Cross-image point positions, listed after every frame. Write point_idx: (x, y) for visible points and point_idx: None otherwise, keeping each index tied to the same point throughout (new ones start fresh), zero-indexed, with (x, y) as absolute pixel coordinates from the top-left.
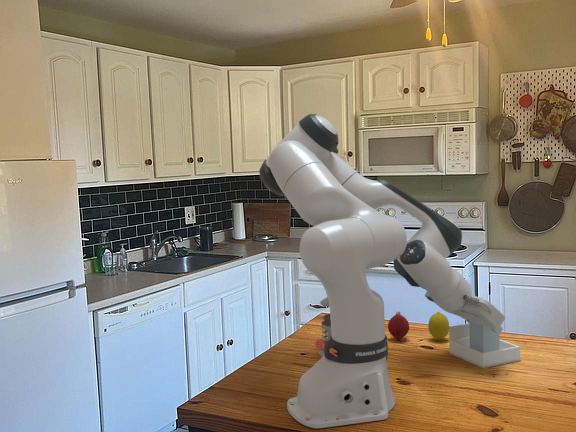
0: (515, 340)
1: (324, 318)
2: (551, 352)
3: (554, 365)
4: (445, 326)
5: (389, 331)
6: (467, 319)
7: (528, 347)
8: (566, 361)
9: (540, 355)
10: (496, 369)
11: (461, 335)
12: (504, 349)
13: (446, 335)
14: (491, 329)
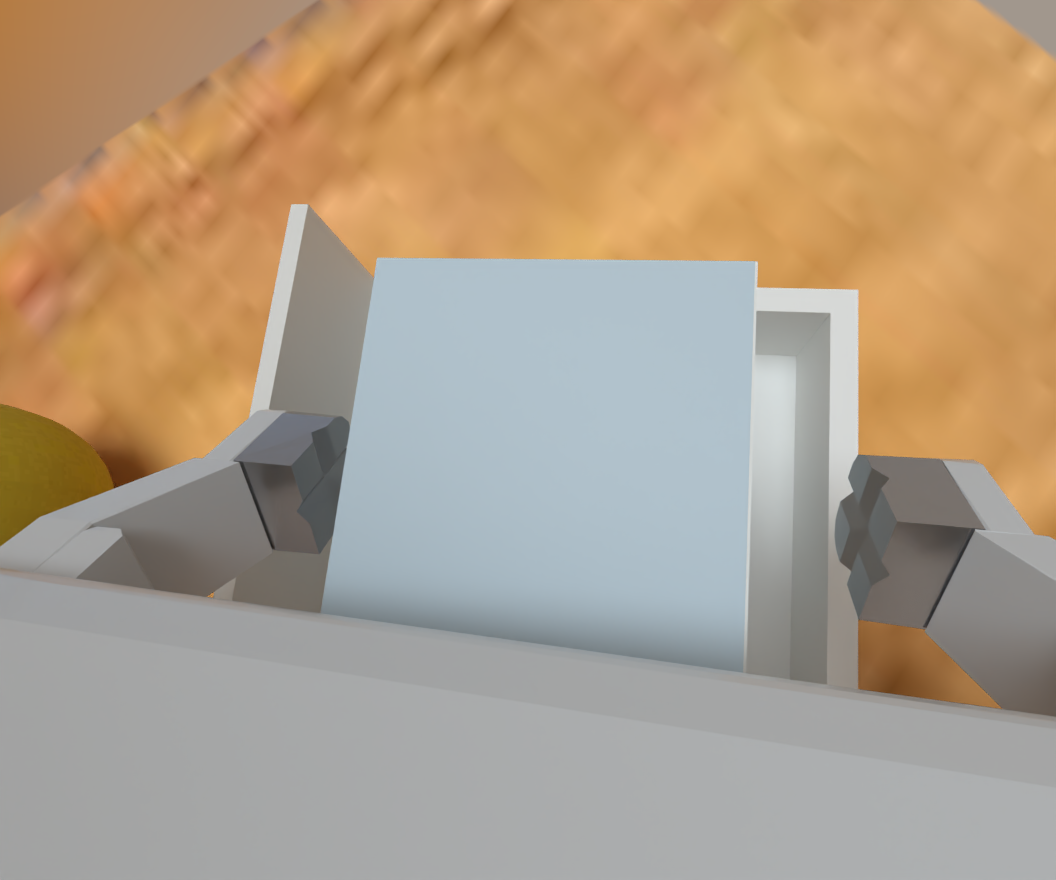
0: (449, 62)
1: None
2: (791, 29)
3: (1047, 204)
4: (38, 502)
5: None
6: (266, 534)
7: (613, 87)
8: (1015, 71)
9: (799, 134)
10: (882, 668)
11: (311, 565)
12: (849, 482)
13: (111, 480)
14: (862, 611)
